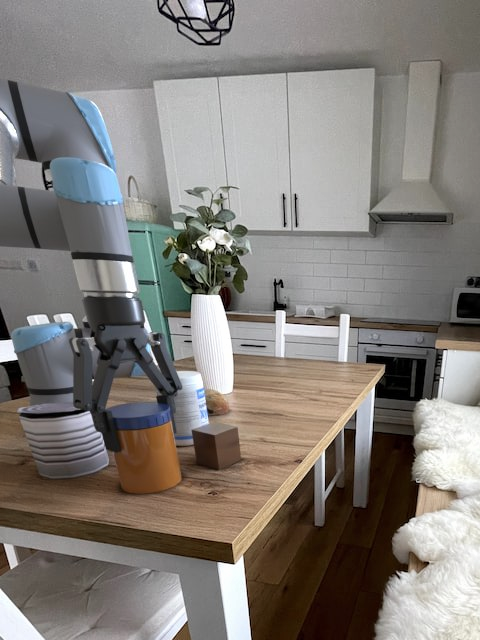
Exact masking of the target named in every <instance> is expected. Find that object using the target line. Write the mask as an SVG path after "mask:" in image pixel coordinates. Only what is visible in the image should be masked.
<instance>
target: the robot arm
mask: <svg viewBox="0 0 480 640" xmlns="http://www.w3.org/2000/svg"><path fill="white" fill-rule="evenodd" d="M15 159H16V160H23V161H29V162H34V163H35V162H36V163H38V164H39V163H40V164H42V167H43V171H44V174H45V176H46V177H47V178H48V179H50V180H51V181H52V189H53V190H50V189H49V190H48V189H40V188H32V187H25V186H18V185H17V175H16V168H15V167H16V166H15ZM117 168H118V167H117V162H116V159H115V155H114V150H113V146H112V142H111V139H110V135H109V132H108V129H107V126H106V124H105V121H104V118H103V115H102V113H101V111H100V109H99V107H98V106H97V105H96V104H95V102H93V101H92V100H91V99H90V98H86V97H83V96H79V95H76V94H72V93H70V92H69V91H61V90H56V89H51V88H46V87H41V86H37V85H32V84H29V83H24V82H19V81H15V80H10V79H8V78H5V77H4V78H3V77H0V247H3V248H4V247H6V248H20V249H23V248H24V249H38V250H47V251H48V250H49V251H50V250H51V251H64V252H70V256H71V260H72V264H73V268H74V272H75V276H76V280H77V284H78V289H79V291H80V292H81V293H82V294H83V296H82V299H81V301H82V306H83V309H84V314H85V316H84V317H83V318H82V320H81V321H82V325H83V327H82V328H80V327H79V328H77V327H74V324H72V322H70V321H54V322H47V323H39V324H33V325H26V326H21V327H18V328H15V329H13V330H12V332H11V335H10V337H11V341H12V345H13V349H14V350H13V353H14V354H15V355H16V358H17V361H18V364H19V367H20V370H21V374H22V377H23V379H24V382H25V385H26V388H27V391H28V394H29V406H34V405H40V404H50V403H66V402H73V406H74V407H75V408H78V409H82V410H86V411H90V413H91V416H92V420H93V423H94V427H95V429H96V431H97V432H101V433H102V436H103V440H104V444H105V448H106V450H107V451H110V452H112V451H113V452H116V453H117V452H120V451H121V448H120V444H119V440H118V436H117V432H116V428H115V424H114V420H113V415H112V411H110V410H105V409H107V408H106V407H107V404H108V400H109V396H110V393H111V389H112V386H113V382H114V379H119V378H129V379H131V378H134V377H143V376H146V377H147V378H148V380H149V381H150V382H151V383H152V385H153V386H154V388H155V387H156V388H157V390H158V391H159V392H160V393H161V394H162V396H161V395H158V396H157V395H156V396H155V399H156V402H159V403H164V404H167V405H169V407H170V410H171V415H172V416H171V422H172V427H173V433H174V434H176V433H177V431H176V425H175V420H174V413H176V408H175V402H174V397H176V396H177V395H178V392H177V391H178V390H182V384H181V381H180V379H179V376H178V374H177V372H176V371H177V369H176V367H175V364H174V362H173V360H172V357H171V354H170V352H169V350H168V347H167V341H166V335H165V333H163V332H158V331H150V332H149V330H148V329H147V327H145V323H146V317H145V311H144V307H143V306H144V305H143V301H142V300H141V299H140V297H137V294H139V293H141V289H140V285H139V284H140V283H139V280H138V274H137V270H136V265H135V261H134V256H133V251H132V247H131V240H130V235H129V229H128V224H127V219H126V213H125V207H124V196H123V195H122V192H121V188H120V183H119V180H118V175H117V170H118V169H117ZM151 352H152V354H153V357H152V355H151ZM154 360H155V361H154ZM155 362H156V363H155ZM113 452H112V453H113Z"/></svg>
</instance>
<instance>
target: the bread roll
mask: <svg viewBox="0 0 480 640" xmlns="http://www.w3.org/2000/svg"><path fill="white" fill-rule="evenodd" d="M204 393H205V400H206V407H207V414H208V417H209V416H222V415H225V414H227V413H228V412H229V411H230V405H229V399H228V398H227V396H226V395H224V394H222V392H220V391H218V390H216V389H208V388H207V389H204Z"/></svg>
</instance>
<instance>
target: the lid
mask: <svg viewBox="0 0 480 640" xmlns="http://www.w3.org/2000/svg"><path fill="white" fill-rule="evenodd" d="M105 410H110V411H112V415H113V420H114V424H115V428H116V429H122V430H130V429H142V428H149V427H154V426H158V425H161V424H164V423H166V422H168V421H170V420H171V416H172V415H171V410H170V407H169V405H167V404H164V403H159V402H157V401H136V402H135V401H134V402H126V403H121V404H116V405H112V406H109V407H107V408H105Z"/></svg>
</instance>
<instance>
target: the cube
mask: <svg viewBox="0 0 480 640" xmlns="http://www.w3.org/2000/svg"><path fill="white" fill-rule="evenodd" d="M191 431H192V437H193V443H194V445H193V450H194V456H195V461H196V462H195V463H196V464H197V465H200V466H204V467H207V468H210V469H215V470H217V471H220V470H222V469H224V468H227V467H229V466H231V465H233V464H235V463H237V462H240V461H241V460H242V454H241V444H240V436H239V427H238V426H237V425H231V424H226V423H223V422H219V421H214V422H211V423H210V422H209V424H207V425H204V426H201V427H198V428H195V429H192V430H191Z"/></svg>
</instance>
